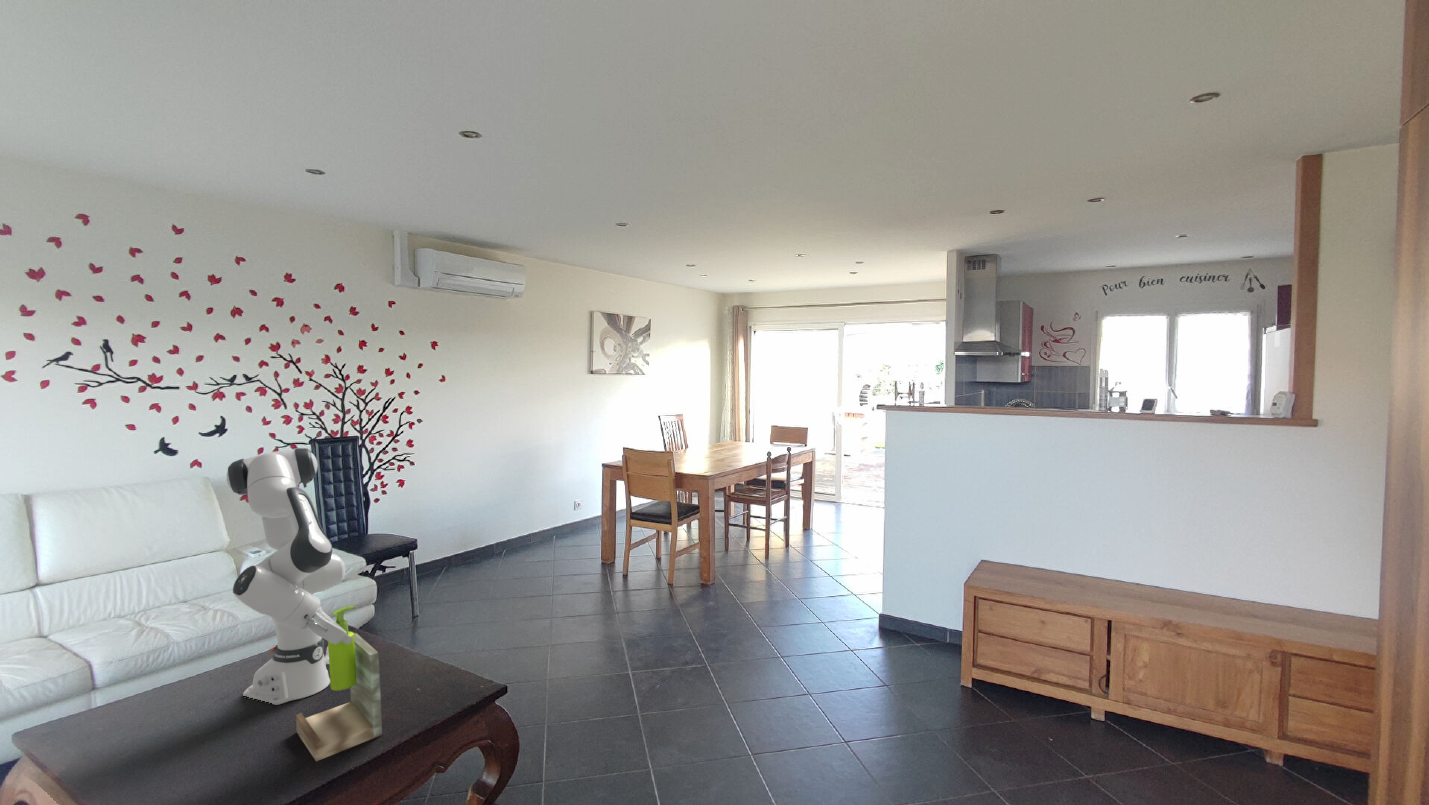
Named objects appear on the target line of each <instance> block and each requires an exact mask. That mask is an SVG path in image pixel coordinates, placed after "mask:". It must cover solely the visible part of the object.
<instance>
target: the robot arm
mask: <svg viewBox="0 0 1429 805" xmlns="http://www.w3.org/2000/svg"><path fill="white" fill-rule="evenodd" d="M318 465H319V464H318V459H317V458H316V455H314V453H312V450H311V449H309V448H307V447H305V448H304V447H297V448H294V449H286V450H284V449H282V450H278V451H276V450H275V451H271V452H266V453H262V454H259V455H255V456H251V457H248V458H245V459H244V458H240V459H238V460H237V459H236V460H235V461H233V462H231V463H230V464H229V466H228V467H227V472H226V482H227V485H228V487H229V488H230V489H231V490H232V492H233V493H235V494H236V495H241V496H243V495H246V496H247V500H248V501H247V502H248V505H249V507H250V509H251V510H252V512H254V513H255V514H256V515H258V516H260V517H261V518H262V524H263V530H264V535H265V541H266V543H267V545H268V547H269V548H271V549H273V550H275V551H274V552H273V553H271V554H270V555H269V556H267V557H265V559H263V560H262V561H261V562H259V563H257V564H255V565H254V564H253V565H250V566H248V567H247V568H245V569H244V570H243V571H242V572H241V573H240V574H239V575H238V577H237V578H236V580H235V582H234V583H233V587H232V593H233V595H234V597H236V599H237V600H239V601H240V602H241V603H242V604H244V605H245V606H247V608H249V609H251V610H253V611H254V612H257V613H259V614H261V615H265V616H269V617H270V618H271V619H272V620H273V622H274V628H275V633H276V645H275V646H274V647H272V648H270V649H269V653H268V654H272V653H273V655H272V657H271V658H270V659H269V660H268V661H267V662H266V663H264V664H263V665H262V666H261V667H259V668H258V669H257V670H256V671H255V673H254V675H253V679H252V684H251V685H250V686H248V687H247V688H246V689H245V690H244V691H243V694H242V697H243V696H247V697H249V698H248V699H250V698H253V699H252V700H254V699H258V700H261V701H260V702H262V701H265V702H264V703H266V702H269V703H268V704H270V703H272V704H271V705H275V706H278V705H281V704H285V703H288V702H291V701H295V700H301V699H304V698H306V697H309V696H312V695H316V694H317V693H319V692H321V691H322V690H324V689H326V688H327V687H328V686H330V675H329V671H328V669H327V664H325V659H324V656H325V654H324V651H325V650H324V649H325V641H327V642H328V641H329V642H331V643H333V644H335V645H337V644H338V643H339V642H340V641H341V642H344V643H346V644H350V643H351V641H352V640H353V638H352V637H351V636H349V635H347V634H346V631H345V630H344V629H343V628H341V627H340V626H339V625H338V624H337V623H336V622H335V621H336V620H333V618H332V617H330V616H329V615H328V614H327V613H326V612H325V611H323V608H322V605H321V599H320V598H319V597H317V596H315V595H313V594H316V593H320V592H325V591H326V590H327V591H328V590H329V589H332V588H334V587H336V586H338V585H340V584H342V582H343V580H344V578H345V574H346V565H345V562H344V560H343V559H342V558H341V557H340V556H339V555H338V554H336V553H333V545H332V543H331V541H330V539H329V537H328V536H327V535H326V533H325V532H324V529H323V528H322V525H321V522H320V520H319V517H318V515H317V512H316V509H315V507H314V504H313V502H312V500H311V498H310V495H309V494H308V493H307V492H306V491H304V490H303V489H302V488H299V485H300V484H302V485H303V488H304V489H305V488H307V487H308V486H307V485H308V484H309V483H310V482H312V481H313V480H314V479H315V477H316V476H317V472H318V467H319V466H318ZM258 700H257V701H258Z"/></svg>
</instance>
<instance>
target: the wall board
mask: <svg viewBox="0 0 1429 805" xmlns="http://www.w3.org/2000/svg"><path fill="white" fill-rule="evenodd" d="M353 633H354V643H355V661H356V678H357V683H356V684H355V685H354V686H352V687H350V688H349V689H350V701H349V702H347V703H344V704H341V705H338V706H335V707H332V708H330V709H327V710H324V711H322V712H318V713H315V714H312V715H310V716H308V717H305V715H303V713H302V712H300V713H298V714H295V722H296V724H295V725H296V733H297V735H298V734H299V735H298V737H299V738H300V740H301V741H302V742H303V744H304V746H305V747H306V749H307V750H308V752H309V753H310V754H311V756H312V757H313V759H314V761H315V762H319V761H320V760H323V759H326V758H328V757H331V756H333V755H336V754H338V753H341V752H343V751H345V750H348V749H351V748H353V747H356V746H358V745H360V744H361V745H362V743H366V742H368V741H370V740H373V739H375V738H378V737H381V736H382V735H383V726H382V701H381V700H382V699H381V698H382V696H381V680H380V678H381V677H380V660H379V659H380V658H379V656H380V655H379V652H378V651H377V650H376V649H375V648H374V647H373V646H372V645H371V644H370V643H368V642H367V641H366V640H365V639H364V638H362V637H361V635H359V634H358V633H357V632H353Z"/></svg>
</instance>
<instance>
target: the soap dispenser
mask: <svg viewBox="0 0 1429 805" xmlns="http://www.w3.org/2000/svg"><path fill="white" fill-rule="evenodd" d="M356 608H357V607H356V606H352V605H349V606H347V605H346V606H343V607H339V608H338V609H336V610H333V611H331V614H332V615H334V616H335V621H336V623H337V624H338V625H339V626H340V627H341V628H343V629H344V630H345V631H346V634H347V635H349V636H351V637H352V638H353V640H352V641H351V643H350V644H346V643H344V642H341V641H340V642H339V643H338V644H337V645H335V644H333V643H331V642H329V641H327V647H328V651H329V664H328V665H329V678H330V684H329V686H330V690H332V691H342V690H347V689H350V687H352V686H354V685H355V684H356V683H357V678H356V661H355V643H354V633H355V632H354V631H349V622H348V620H346V619H345V616H344V615H345V614H344V613H346V612H347V611H350V610H356Z"/></svg>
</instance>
